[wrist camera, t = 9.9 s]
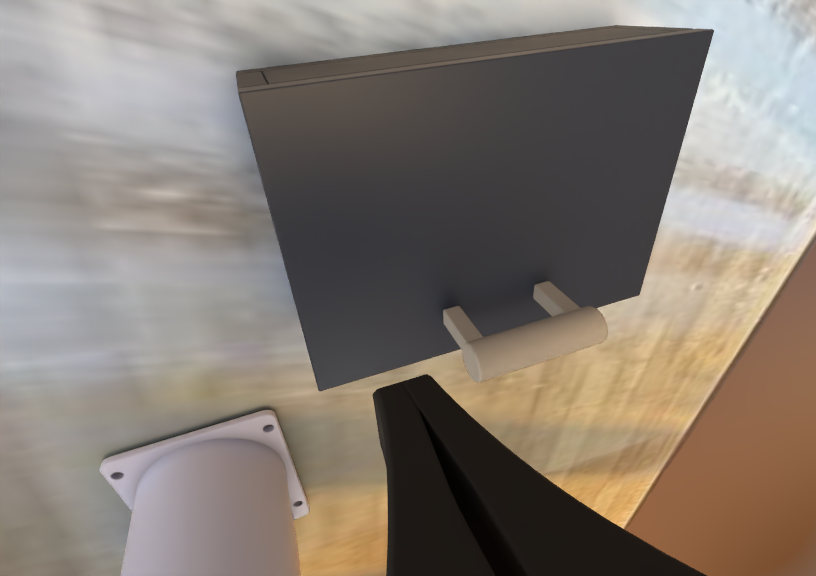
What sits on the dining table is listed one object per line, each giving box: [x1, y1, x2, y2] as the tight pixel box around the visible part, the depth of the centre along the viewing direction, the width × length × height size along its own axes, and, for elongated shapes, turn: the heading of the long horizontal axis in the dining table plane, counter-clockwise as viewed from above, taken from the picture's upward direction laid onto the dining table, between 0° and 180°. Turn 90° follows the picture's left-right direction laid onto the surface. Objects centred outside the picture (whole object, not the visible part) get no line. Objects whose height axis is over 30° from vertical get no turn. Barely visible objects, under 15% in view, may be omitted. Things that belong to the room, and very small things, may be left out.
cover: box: [238, 29, 714, 391], centre depth 14 cm, size 11×15×4 cm
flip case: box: [236, 25, 691, 89], centre depth 17 cm, size 10×15×4 cm
